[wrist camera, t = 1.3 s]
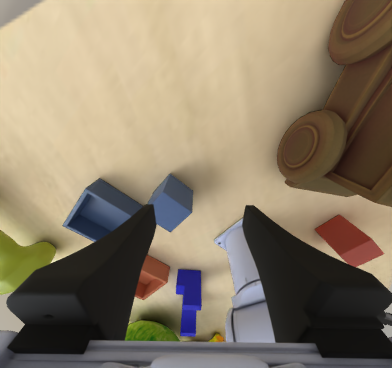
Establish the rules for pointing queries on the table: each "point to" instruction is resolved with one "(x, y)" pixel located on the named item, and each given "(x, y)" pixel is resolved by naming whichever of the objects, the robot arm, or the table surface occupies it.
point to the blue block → (171, 203)
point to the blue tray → (100, 211)
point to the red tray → (151, 277)
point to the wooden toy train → (349, 113)
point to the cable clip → (189, 299)
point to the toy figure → (217, 338)
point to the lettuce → (149, 332)
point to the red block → (349, 241)
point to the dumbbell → (21, 261)
